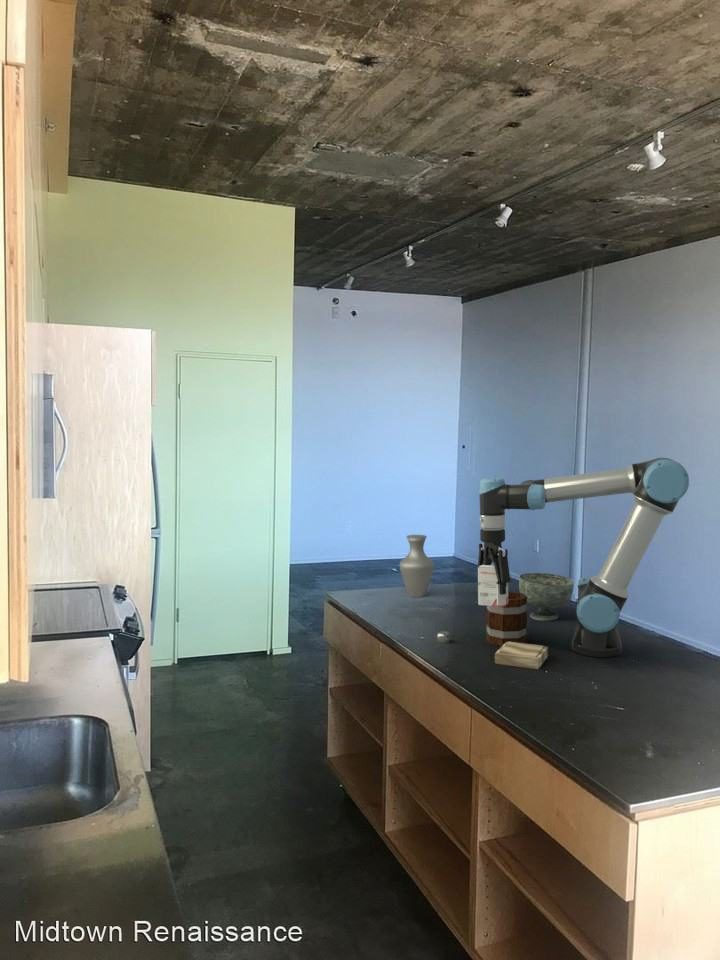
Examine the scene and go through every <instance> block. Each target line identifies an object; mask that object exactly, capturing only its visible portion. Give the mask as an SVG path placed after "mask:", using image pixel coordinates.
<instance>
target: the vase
mask: <svg viewBox="0 0 720 960" xmlns="http://www.w3.org/2000/svg"><path fill="white" fill-rule="evenodd" d="M426 538H427V535H425V534H410V535H407V536H406V539H407V541H408V544H409V552H408V554H407V555H406V556H405V557H404V558H402V559H401V560H400V561H399V569H400V570H399V571H400V573H401V577H402V580H403V583H404V587H405V588H406V591H407V594H408V597H412V598H422V597H425V596H426V594H427V591H428V589H429V587H430V584H431V579H432V577H433V574H434V570H435V563H434V561H433V559H431V558H430V557H428V556H427V555H426V553H425V550H424V545H425V541H426Z"/></svg>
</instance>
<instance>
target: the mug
mask: <svg viewBox="0 0 720 960" xmlns="http://www.w3.org/2000/svg"><path fill="white" fill-rule="evenodd" d="M527 603H528V602H527V596H526V595H524V594H523V593H520V592H518V591H512V590H508V604H507V605H506V606H505V607H501V606H486V612H485V620H486V634H485V640H486V641H487V643H489V644H492V645H496V646H500V647H502V646H503V645H504V644H505V643H506V642H517V643H525V644H527V643H528V639H527V623H528V615H527V614H528V613H527Z"/></svg>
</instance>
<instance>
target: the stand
mask: <svg viewBox="0 0 720 960" xmlns="http://www.w3.org/2000/svg"><path fill="white" fill-rule="evenodd" d="M548 657H549V647H548V646H545V645H541V644H533V643H517V642H506V643H505V644H504V645H503V646H500V647H499V649H497V650H496V652H495V653H494V664H497V665H503V666H511V667H512V666H513V667H519V668H527V669H534V670H539V669H540V668H541V667H542V665H544V662H545V661H546V660H547V659H548Z"/></svg>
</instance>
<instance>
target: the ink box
mask: <svg viewBox="0 0 720 960" xmlns="http://www.w3.org/2000/svg"><path fill="white" fill-rule="evenodd" d="M477 568H478V573H477V594H478V595H477V600H478V601H477V602H478V605H479V606H486V607H487V606H501V607H505V606H506V605H507V604H508V591H509V582H508V583H506V604H505V605H497V584H496V583H497V582H498V579H497V575H496V571H495V567H494V564H491V565H481V566H479V567H478V566H477Z"/></svg>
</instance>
